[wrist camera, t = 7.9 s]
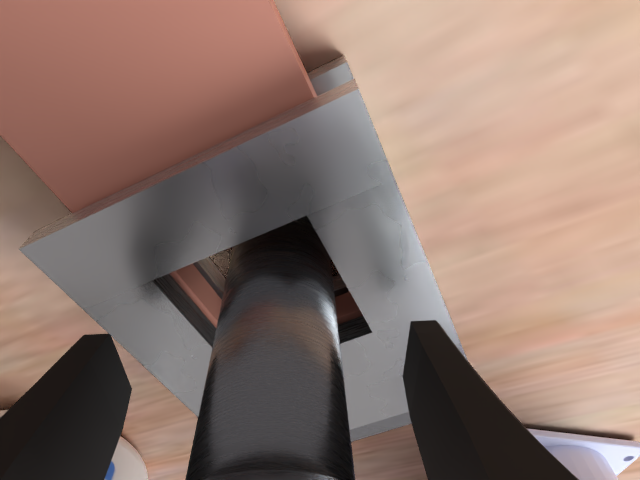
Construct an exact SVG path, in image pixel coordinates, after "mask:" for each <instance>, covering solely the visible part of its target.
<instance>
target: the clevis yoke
mask: <svg viewBox="0 0 640 480" xmlns="http://www.w3.org/2000/svg"><path fill="white" fill-rule="evenodd" d="M307 75H308V77H309V79H310V81H311V83H312V86H313V88H314V90H315V92H316V94H317V97H315V98H313V99H310V100H308V101H306V102H304V103H302V104H300V105H298V106H296V107H294V108H292V109H290V110H288V111H285V112H283V113H281V114H279V115H277V116H275V117H273V118H271V119H269V120H267V121H265V122H262V123H260V124H258V125H256V126H254V127H252V128H250V129H248V130H246V131H244V132H242V133H239V134H237V135H235V136H233V137H231V138H229V139H227V140H225V141H223V142H221V143H219V144H216V145H214V146H212V147H210V148H208V149H206V150H204V151H202V152H200V153H198V154H196V155H193V156H191V157H189V158H187V159H185V160H183V161H181V162H179V163H177V164H175V165H173V166H170V167H168V168H166V169H164V170H162V171H160V172H158V173H156V174H154V175H152V176H150V177H147V178H145V179H143V180H141V181H139V182H137V183H135V184H133V185H131V186H129V187H127V188H125V189H122V190H120V191H118V192H116V193H114V194H112V195H110V196H108V197H106V198H104V199H102V200H99V201H97V202H95V203H93V204H91V205H89V206H87V207H85V208H83V209H81V210H79V211H76V212H74V213H72V214H70V215H68V216H66V217H64V218H62V219H60V220H58V221H56V222H53V223H51V224H49V225H47V226H45V227H43V228H41V229H39V230H37V231H35V232H34V233H33V234H32V235H31V236H30V237H29V238H28V240H27V241H26V242H25V243H24V244H23V245H22V246H21V247H20V249H19V250H20V251H21V252H22V253H23V254H24V255H25V256H27V257H28V258H29V259H30V260H31V261H32V262H33V263H34V264H35V265H36V266H37V267H38V268H39V269H40V270H42V271H43V272H44V273H45V274H46V275H47V276H48V277H49V278H50V279H51V280H52V281H53V282H54V283H55V284H56V285H58V286H59V287H60V288H61V289H62V290H63V291H64V292H65V293H66V294H67V295H68V296H69V297H70V298H71V299H72V300H74V301H75V302H76V303H77V304H78V305H79V306H80V307H81V308H82V309H83V310H84V311H85V312H86V313H87V314H89V315H90V316H91V317H92V318H93V319H94V320H95V321H96V322H97V323H98V324H99V325H100V326H101V327H102V328H103V329H105V330H106V331H107V332H108V333H109V334H110V335H111V336H112V337H113V338H114V339H115V340H116V341H117V342H118V343H119V344H121V345H122V346H123V347H124V348H125V349H126V350H127V351H128V352H129V353H130V354H131V355H132V356H133V357H134V358H136V359H137V360H138V361H139V362H140V363H141V364H142V365H143V366H144V367H145V368H146V369H147V370H148V371H149V372H150V373H152V374H153V375H154V376H155V377H156V378H157V379H158V380H159V381H160V382H161V383H162V384H163V385H164V386H165V387H166V388H168V389H169V390H170V391H171V392H172V393H173V394H174V395H175V396H176V397H177V398H178V399H179V400H180V401H181V402H183V403H184V404H185V405H186V406H187V407H188V408H189V409H190V410H191V411H192V412H193V413H194V414H195V415H196V416H197V417H198V416H199V411H200V406H201V401H202V396H203V391H204V387H205V382H206V377H207V372H208V367H209V362H210V357H211V352H212V347H213V342H214V337H215V332H216V327H215V326H214V325H213V324H212V323H211V322H210V320H209V319H208V318H207V317H206V316H205V315H204V313H203V312H202V311H201V310H200V309H199V308H198V306H197V305H196V304H195V303H194V302H193V301H192V299H191V298H190V297H189V296H188V295H187V294H186V292H185V291H184V290H183V289H182V288H181V286H180V285H179V284H178V283H177V282H176V281H175V279H174V278H173V277H172V276H171V275H170V274H169V273H171V272H173V271H176V270H178V269H181V268H183V267H185V266H188V265H190V264H192V263H193V265H194V266H195V267H196V268H197V270H198V271H199V272H200V273H201V275H202V276H203V277H204V278H205V280H206V281H207V282H208V283H209V285H210V286H211V287H212V288H213V290H214V291H215V292H216V293H217V295H218V296H219V297H220V298H221V300H222V298H223V293H224V288H225V283H226V278H225V277H224V276H223V275H222V273H221V272H220V271H219V269H218V268H217V267H216V265H215V264H214V263H213V261H212V260H211V259H210V258H209V256H211V255H214V254H216V253H219V252H221V251H223V250H226V249H228V248H230V247H233V246H235V245H238V244H240V243H242V242H245V241H247V240H249V239H252V238H254V237H257V236H259V235H261V234H264V233H266V232H268V231H271V230H273V229H276V228H278V227H280V226H283V225H285V224H287V223H290V222H292V221H295V220H297V219H299V218H302V217H304V216H306V215H307V217H308V218H309V220H310V222H311V224H312V225H313V227H314V229H315V231H316V233H317V234H318V236H319V238H320V240H321V241H322V243H323V245H324V247H325V249H326V250H327V252H328V254H329V256H330V257H331V259H332V261H333V263H334V265H335V266H336V268H337V270H338V272H339V273H340V274H338V275H336V276H333V285H334V294H335V297H336V296H339V295H342V294H344V293H347V292H350V293H351V295H352V297H353V298H354V300H355V302H356V304H357V306H358V307H359V309H360V311H361V313H362V314H363V316H361V317H358V318H355V319H352V320H350V321H347V322H344V323H341V324H338V330H339V339H340V348H341V357H342V366H343V375H344V384H345V393H346V402H347V411H348V420H349V429H350V438H351V442H352V441H355V440H359V439H362V438H365V437H369V436H372V435H375V434H379V433H382V432H385V431H389V430H392V429H395V428H399V427H402V426H405V425H409V424H412V423H411V419H410V415H409V410H408V404H407V399H406V393H405V387H404V381H403V371H404V364H405V357H406V350H407V343H408V336H409V329H410V323H411V321H427V320H436V321H437V322H438V323H439V324H440V325H441V327H442V328H443V329H444V331H445V332H446V333H447V335H448V336H449V337H450V339H451V340H452V341H453V343H454V344H455V345H456V347H457V348H458V349H459V351H460V352H461V353H462V354H463V356H464V357H465V358H466V355H465V353H464V350H463V348H462V345H461V343H460V340H459V338H458V335H457V333H456V330H455V328H454V325H453V323H452V320H451V318H450V315H449V313H448V310H447V308H446V305H445V303H444V300H443V298H442V295H441V293H440V290H439V288H438V285H437V283H436V280H435V278H434V275H433V273H432V270H431V268H430V265H429V263H428V260H427V258H426V255H425V253H424V251H423V248H422V246H421V243H420V241H419V238H418V236H417V233H416V231H415V228H414V226H413V223H412V221H411V218H410V216H409V213H408V211H407V208H406V206H405V203H404V201H403V198H402V196H401V193H400V191H399V188H398V186H397V183H396V181H395V178H394V176H393V173H392V171H391V168H390V166H389V163H388V161H387V158H386V156H385V153H384V151H383V148H382V146H381V143H380V141H379V138H378V136H377V133H376V131H375V128H374V126H373V123H372V121H371V118H370V116H369V113H368V111H367V108H366V106H365V103H364V101H363V98H362V96H361V93H360V91H359V89H358V86H357V84H356V82H355V79H354V78H353V75H352V73H351V71H350V68H349V66H348V63H347V61H346V58H345V56H344V55H343V56H341V57H339V58H337V59H335V60H333V61H331V62H329V63H327V64H325V65H323V66H321V67H319V68H317V69H315V70H313V71H311V72H309V73H307ZM466 359H467V358H466ZM467 361H468V360H467Z"/></svg>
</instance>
